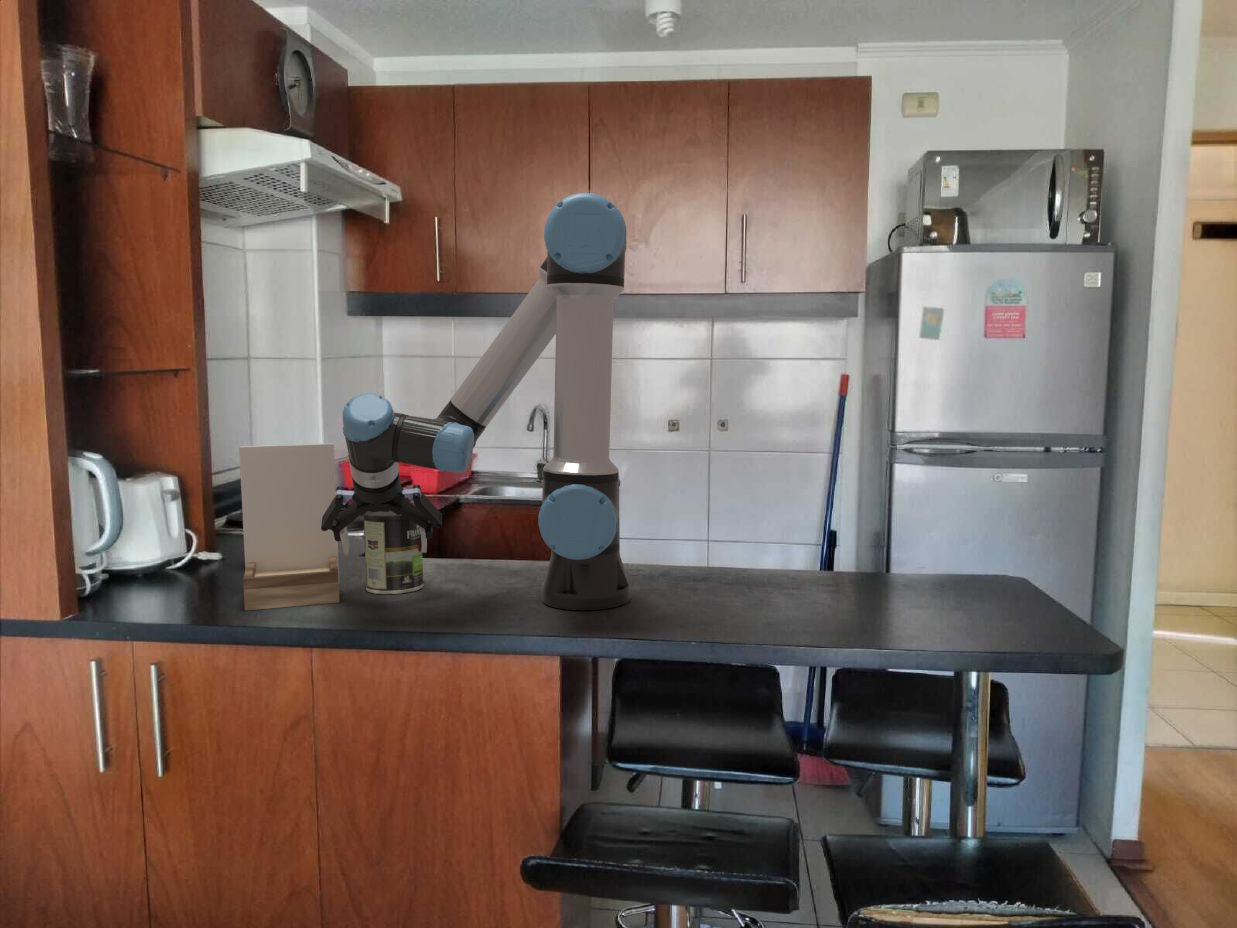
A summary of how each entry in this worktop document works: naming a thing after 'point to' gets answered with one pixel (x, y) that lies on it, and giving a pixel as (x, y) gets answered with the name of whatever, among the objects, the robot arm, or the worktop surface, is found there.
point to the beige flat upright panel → (287, 505)
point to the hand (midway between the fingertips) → (385, 547)
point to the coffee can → (392, 553)
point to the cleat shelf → (290, 586)
